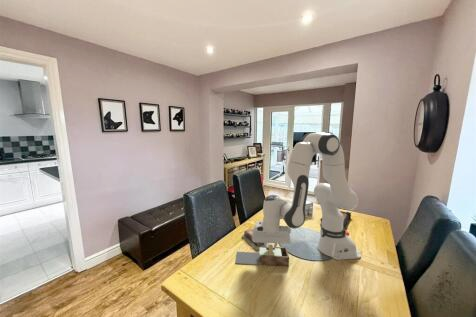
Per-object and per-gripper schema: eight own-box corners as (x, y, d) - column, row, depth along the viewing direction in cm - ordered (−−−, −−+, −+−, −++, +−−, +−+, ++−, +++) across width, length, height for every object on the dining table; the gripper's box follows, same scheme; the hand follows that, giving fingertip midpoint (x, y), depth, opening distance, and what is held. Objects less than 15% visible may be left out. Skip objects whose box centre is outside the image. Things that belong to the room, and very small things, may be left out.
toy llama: (307, 217, 160) (309, 193, 157) (293, 209, 175) (294, 187, 172) (314, 215, 163) (316, 192, 160) (299, 208, 178) (300, 186, 176)
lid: (280, 249, 110) (280, 241, 109) (281, 257, 103) (282, 248, 103) (259, 248, 111) (259, 240, 110) (259, 256, 104) (259, 247, 104)
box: (286, 255, 112) (286, 247, 111) (288, 266, 103) (289, 257, 102) (261, 254, 113) (261, 245, 112) (261, 264, 104) (262, 256, 103)
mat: (259, 253, 113) (259, 252, 113) (260, 265, 103) (260, 264, 103) (237, 252, 114) (237, 251, 114) (235, 263, 105) (235, 263, 105)
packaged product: (241, 230, 131) (253, 226, 135) (241, 237, 131) (253, 233, 136) (257, 244, 115) (270, 239, 120) (256, 251, 116) (270, 246, 121)
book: (327, 213, 169) (327, 207, 168) (350, 218, 158) (351, 212, 158) (318, 224, 148) (319, 218, 147) (344, 232, 138) (345, 225, 137)
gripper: (289, 223, 107) (288, 247, 109) (252, 222, 109) (251, 245, 111) (292, 229, 101) (290, 254, 103) (252, 227, 103) (251, 252, 105)
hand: (270, 249), depth 107 cm, fingers closed on lid
